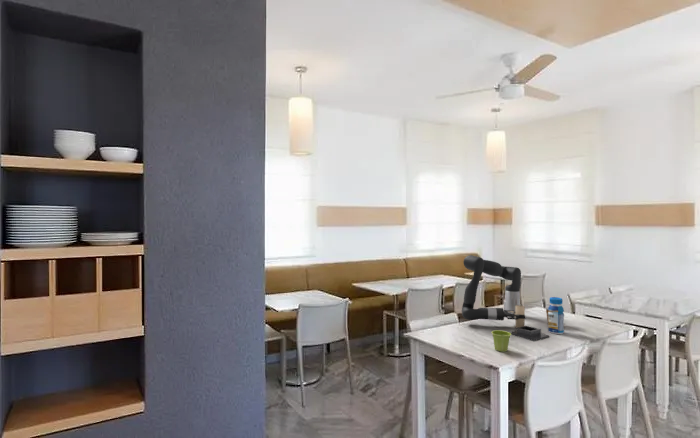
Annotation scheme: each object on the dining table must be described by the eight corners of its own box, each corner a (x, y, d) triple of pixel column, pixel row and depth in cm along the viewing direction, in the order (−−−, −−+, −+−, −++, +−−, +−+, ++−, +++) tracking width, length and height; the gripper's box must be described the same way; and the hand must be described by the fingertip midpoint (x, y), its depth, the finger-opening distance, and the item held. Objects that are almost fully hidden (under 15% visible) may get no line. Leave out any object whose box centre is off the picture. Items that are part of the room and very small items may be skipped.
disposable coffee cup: (565, 327, 245) (565, 307, 245) (549, 327, 245) (549, 307, 245) (557, 323, 255) (557, 304, 255) (542, 323, 255) (542, 304, 255)
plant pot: (506, 346, 210) (506, 330, 210) (514, 352, 200) (514, 335, 200) (488, 347, 210) (488, 330, 210) (495, 353, 200) (495, 335, 200)
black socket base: (508, 334, 232) (508, 327, 232) (523, 330, 240) (523, 323, 240) (534, 341, 219) (534, 333, 219) (549, 337, 226) (549, 329, 226)
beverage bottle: (566, 334, 230) (566, 299, 230) (550, 334, 232) (550, 299, 232) (561, 330, 239) (561, 297, 239) (546, 329, 240) (546, 296, 240)
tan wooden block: (513, 327, 247) (513, 305, 247) (518, 325, 250) (518, 304, 250) (521, 329, 243) (521, 307, 243) (526, 327, 245) (526, 306, 245)
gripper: (496, 310, 242) (526, 311, 239) (493, 305, 256) (521, 306, 253) (497, 323, 242) (526, 324, 239) (493, 317, 256) (521, 318, 253)
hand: (523, 315), depth 246 cm, fingers open, 7 cm apart
